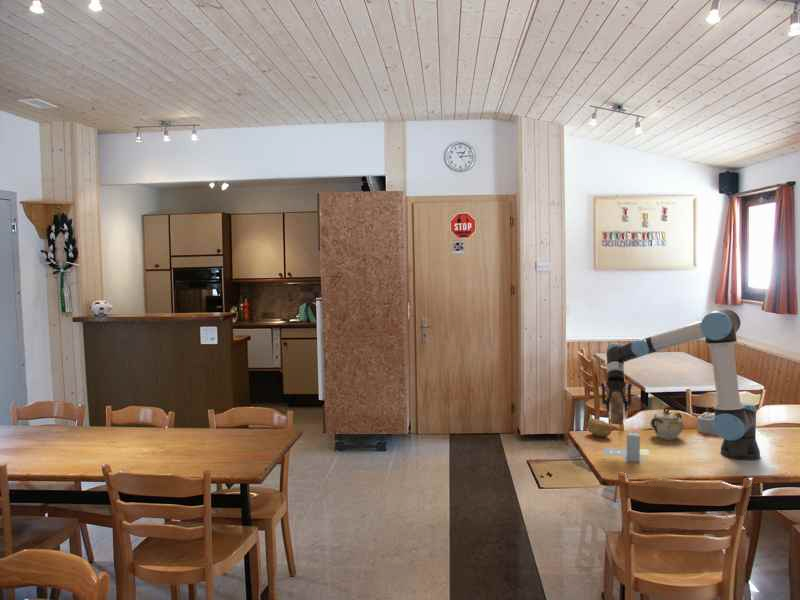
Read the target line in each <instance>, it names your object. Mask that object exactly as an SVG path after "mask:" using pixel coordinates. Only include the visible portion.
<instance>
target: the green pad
mask: <svg viewBox="0 0 800 600" xmlns="http://www.w3.org/2000/svg"><path fill="white" fill-rule="evenodd" d="M640 455H645V456H650V451H649V449H645V448H640Z"/></svg>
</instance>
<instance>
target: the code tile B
mask: <svg viewBox="0 0 800 600" xmlns="http://www.w3.org/2000/svg"><path fill="white" fill-rule="evenodd" d="M622 460H623V463H632V464H634V463H636V464H644V459H643V457H642V456H640V462H636V461H627V456H622Z"/></svg>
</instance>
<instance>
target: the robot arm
mask: <svg viewBox="0 0 800 600" xmlns="http://www.w3.org/2000/svg"><path fill="white" fill-rule="evenodd" d="M740 327H741V318H740V316H739V315H738V314H737V313H736V312H735V311H733V310H732V309H727V308H723V309H719V310H712V311H709V312H708V313H707V314H706V315H704V316H703V318H702V319H701V321H696V322H694V323H690V324H686V325H684V326H681V327H678V328H675V329H671V330H667V331H664V332H662V333H658V334H654V335H652V336H649V337H645V338H641V339H636V340H633V341H631V342H629V343H628V342H627V343H626V344H623V345H621V344H620V343H611V344H609V345H608V346H607V347H606V355H605V356H606V377H607V379H606V380H607V381H606V382H605V383H603V382H601V383H600V389H601V403H602V405H606V406H605V407H606V412H609V413H608V415H609V417H608V418H609V420H611V397H613V393H615V392H617V393H618V394H619V395H620V398H623V420H626V413H628V406H632V393H631V391H632V386H633V385H632V384H631V383H629V384H628V383H626V381H625V365H624V364H625V362H626V363H627V362H628V361H632V360H634V359H638V358H640V357H643V356H646V355H647V356H648V355H651V354H653V353H657V352H661V351H664V350H666V349H669V348H670V349H671V348H674V347H678V346H681V345H683V344H688V343H691V342H695V341H698V340H701V339H705V344H706V345H707V346H709V348H710V353H711V362H712V371H713V376H714V377H713V378H714V387H715V395H716V404H715V405H714V406H713V409H714V413H715V418H714V420H713V429H714V431H715V433H716V434H715V435H717V436H718V437H719V438H721V439H723V441H722V443H721V446H720V453H721V455H723V456H724V457H727V458H731V459H734V460H740V461H741V460H742V461H743V460H744V461H754V460H759V459H760V458H761V450H760V448H759V445H758V442H757V439H756V434H757V433H756V431H757V406H755V405H754V404H751V403H747V402H741V398H740V390H739V389H740V388H739V381H738V374H737V367H736V365H737V364H736V358H735V350H734V346H735V344H736V343H737V342H738V340H737V332H738V331H739V330H740ZM606 388H608V390H609V392H608V395H607V397H606ZM624 388H626V390H627V392H626V393H627V398H626V396H625V392H624Z"/></svg>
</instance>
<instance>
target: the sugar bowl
mask: <svg viewBox="0 0 800 600" xmlns="http://www.w3.org/2000/svg"><path fill="white" fill-rule="evenodd" d="M682 419H683V418H682V414H681V413H680V412H677V413H670V407H668V406H665V407H664V408H663V411H662V412H661V413H657V414H655V415H654V416H653V417H651V419H650V423H649V424H650V427H651V429H652V430H653V432H654V433H655V435H656V436H657V437H658V438H659V437H660V438H659V439H661V438H662V439H661V440H668V441H669V440H670V441H671V440H676V439H677V438H678V437H679V435H680V434H681V433H682V431H683V430H684V427H685V423H684V421H683V420H682Z"/></svg>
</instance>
